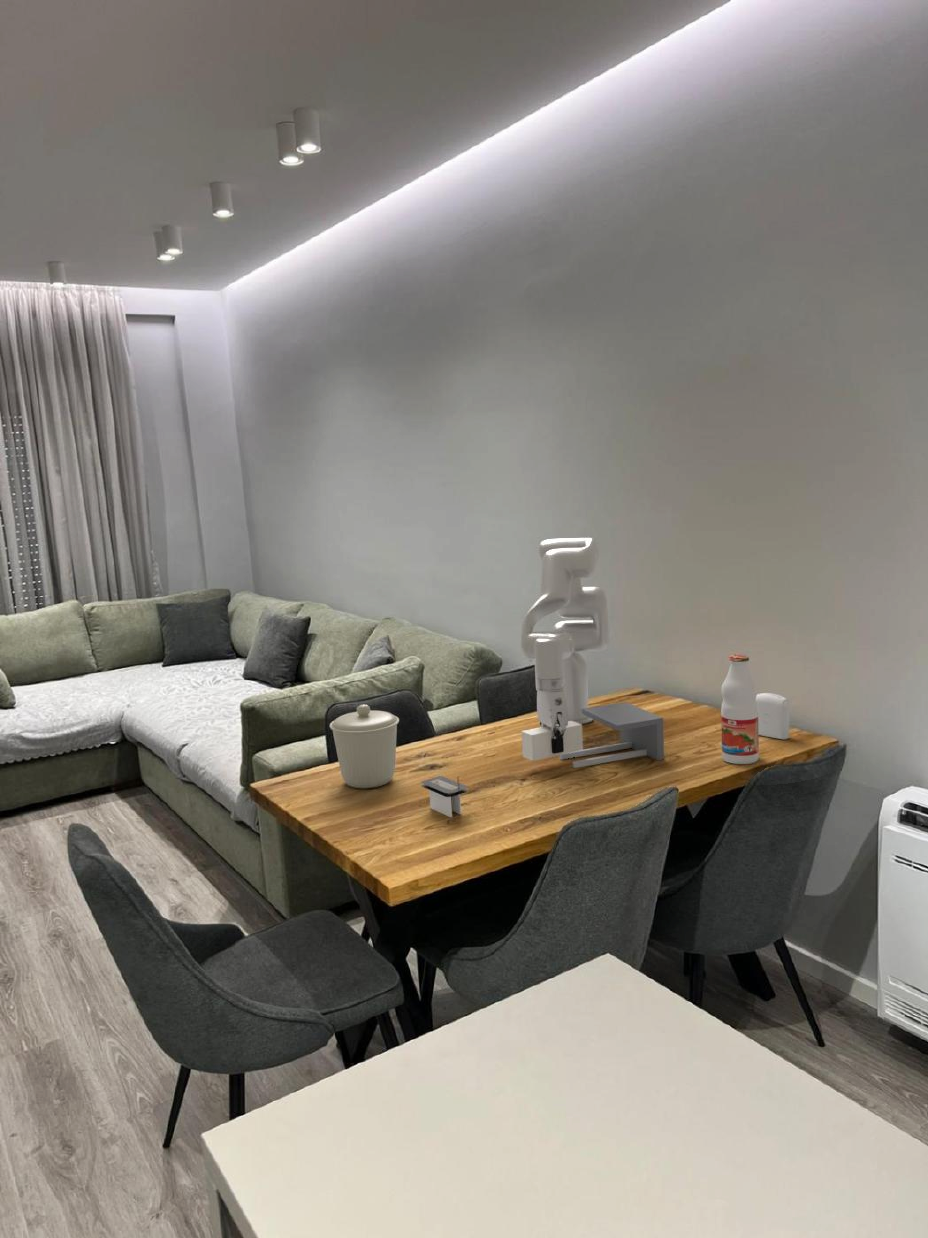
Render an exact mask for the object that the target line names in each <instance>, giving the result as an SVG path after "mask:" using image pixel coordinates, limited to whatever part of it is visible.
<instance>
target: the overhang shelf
mask: <svg viewBox="0 0 928 1238" xmlns="http://www.w3.org/2000/svg"><path fill="white" fill-rule="evenodd" d="M582 714H583V715H585V716H587V717H589V718H591V719H593V720H594V721H595V722H597V723H599V724H601V725H604V726H606V727H608V728H610V729H612V730H614V731H616V732H619V731H620V735H619V736H620V743H619V742H618V743H613V744H608V745H607V744H606V745H602V746H596V747H589V748H583V750H579V751H575V752H571V753H566V754H562V755H559V759H560V760H569V759H574V758H573V757H575V758H580V757H585V756H592V755H598V754H602V753H608V752H615V751H620V750H625V749H630V748H632V749H633V750H630V751H626V752H620V753H614V754H608V755H603V756H597V757H591V758H585V759H580V760H573V761H572V768H574V769H577V768H583V767H587V766H594V765H599V764H604V763H610V762H616V761H621V760H628V759H633V758H638V757H644V756H648V757H650V758H652V759H654V758H655V759H654V760H656V761H662V759H663V760H665V744H664V743H665V742H664V741H665V739H664V738H665V735H664V717H662V716H659V715H657V714H656V713H653V712H650V711H648V710H645V709H644V708H641V707H639V706H637V705H634V704H631V703H630V702H626V701H623V702H617V703H611V704H604V705H603V704H602V705H597V706H592V707H591V706H589V707H588V708H583V709H582ZM593 720H592V721H593ZM568 758H569V759H568Z"/></svg>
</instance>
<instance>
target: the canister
mask: <svg viewBox="0 0 928 1238" xmlns="http://www.w3.org/2000/svg"><path fill="white" fill-rule="evenodd" d="M399 722H400V718H399V717H398V716H396V715H394V714H392V713H391V712H389V711H383V710H371V707H370V706H369V705H368V704H360V705H357V707H356V711H353V712H348V713H345V714H343V715H340V716H338V717H336V719H334V720H333V721H331V722H330V723H329V728H330V730H331V731H332V734H333V739H334V744H335V749H336V754H337V759H338V760H337V761H338V764H339V768H340V769H339V770H340V774H341V777H342V779H343V782H344V783H345V784H346V785H348V786H349V787H351V788H355V789H356V788H357V789H373V788H374V789H375V788H378V787H381V786H383V785H387V784H388V783H390V782H391V781H392V779H393V777H394V776H395V771H396V769H395V768H396V756H397V754H396V753H397V732H398V731H397V728H398V726H397V725H398V724H399Z"/></svg>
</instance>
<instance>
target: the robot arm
mask: <svg viewBox="0 0 928 1238" xmlns="http://www.w3.org/2000/svg"><path fill="white" fill-rule="evenodd" d="M599 553H600V550H599V545H598V543H597V541H596V539H595V538H592V537H572V538H570V537H569V538H568V537H567V538H564V537H563V538H550V539H549V538H548V539H545V540H542V541H541V542H540V543H539V547H538V554H539V557H540V559H541V561H542V564H541V565H542V566H541V579H540V580H541V582H540V594H539V595H540V596H539V598H538V599H537V600H536V601H535V602H534V603H533V604H532V605H531V606H530V607H529V609H528V610H527V612H526V614H525V616H524V618H523V620H522V625H521V637H520V649H521V650H520V651H521V654H522V656H523V657H524V658H525V659H528V660H534V675H535V676H534V677H535V690H536V691H537V692H536V715H537V716H536V717H537V720H538V721H539V725H540V727H544V726H548V727H550V728H551V731H552V736H553V738H552V739H551V742H552V753H554V754H555V753H561V752H563V751H564V746H563V738H564V732H565V730H566V727H565V726H567V725H568V721H573V722H576V723H579V724H582V725H583V724H588V723H590V722H592V721H593V719H591V718H589V717H587V716H585V715H583V714H582V709H583V708H589V691H588V690H589V689H588V687H589V686H588V665H587V662H586V661H585V659H584V658H583V656H582V655H581V654H580V652H599V651H600V652H601V651H604V650H606V649H607V648H608V647H609V642H610V630H609V629H610V628H609V614H608V613H609V611H608V601H607V595H606V592H605V590H604V589H603V588H601V587H600V586H582V583H581V578H584V579H585V578H590V577H591V576H593V574H594V572H595V570H596V568H597V567H596V566H597V563H598V561H599V555H600V554H599ZM552 613H556V615H557V616H558V617H560V618H563V619H573V620H562V621H561V620H560V621H558V622H556V623H555V624H554V625H553V627H552V629H551V631H534V628H535V626H536V624H537V623H538V622H539V621H540V620H542V619H543V618H545V617H547V616H549V615H550V614H552ZM574 619H575V620H574ZM577 619H578V620H577ZM582 619H583V620H582ZM556 724H558V725H559V726H557V727H555V725H556ZM555 729H559V730H557V732H556V733H555Z"/></svg>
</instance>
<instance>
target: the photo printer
mask: <svg viewBox="0 0 928 1238" xmlns="http://www.w3.org/2000/svg"><path fill="white" fill-rule="evenodd" d="M756 703H757V705H758V714H759V715H758V726H759V736H761V737H762V736H763V737H768V738H773V739H779V740H782V741H783V740H784V741H785V740H787V739H789V738H790V703H789V700H788V698H786V697H784V696H783V695H780V694H778V693H777V694H776V693H770V692H762V693H757V696H756Z"/></svg>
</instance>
